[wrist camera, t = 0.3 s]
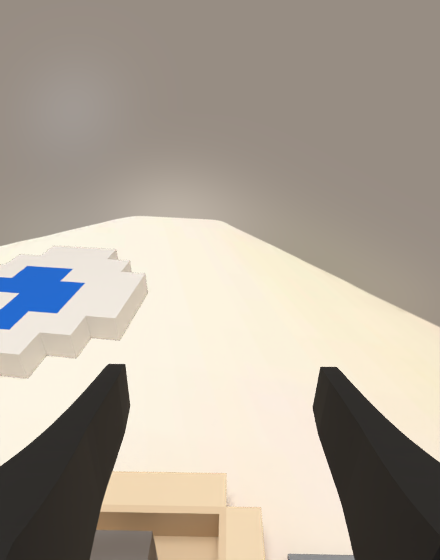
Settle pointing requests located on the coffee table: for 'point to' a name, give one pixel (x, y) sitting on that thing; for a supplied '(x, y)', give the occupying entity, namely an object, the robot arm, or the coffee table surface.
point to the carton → (183, 515)
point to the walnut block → (123, 545)
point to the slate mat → (319, 557)
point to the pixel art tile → (63, 304)
